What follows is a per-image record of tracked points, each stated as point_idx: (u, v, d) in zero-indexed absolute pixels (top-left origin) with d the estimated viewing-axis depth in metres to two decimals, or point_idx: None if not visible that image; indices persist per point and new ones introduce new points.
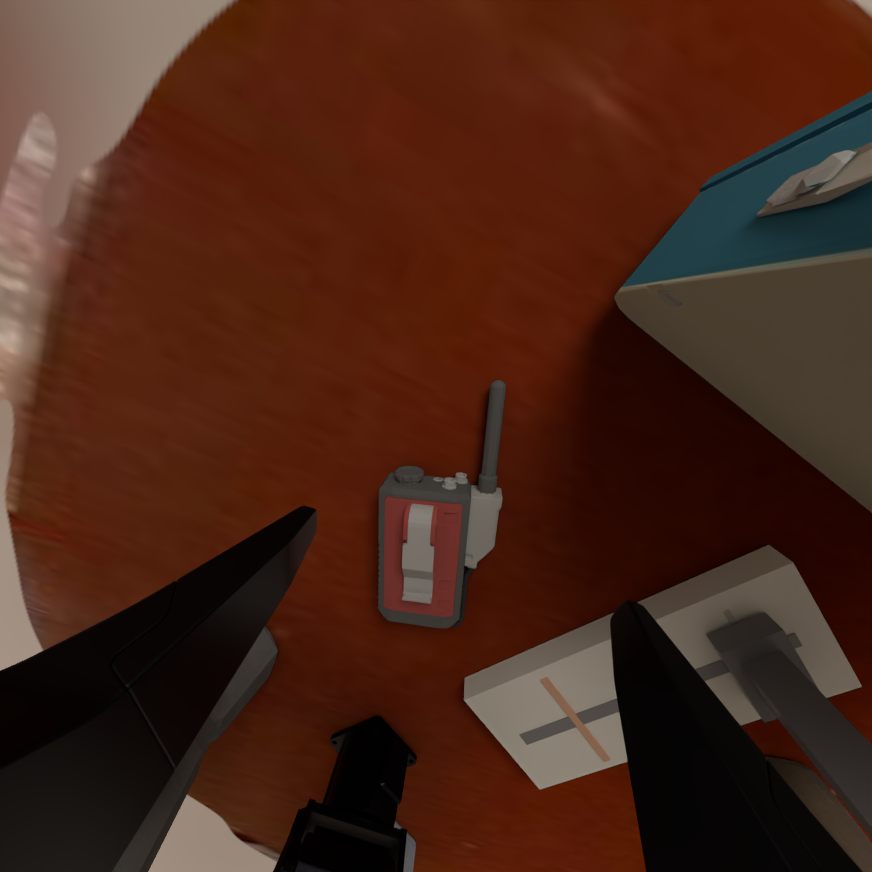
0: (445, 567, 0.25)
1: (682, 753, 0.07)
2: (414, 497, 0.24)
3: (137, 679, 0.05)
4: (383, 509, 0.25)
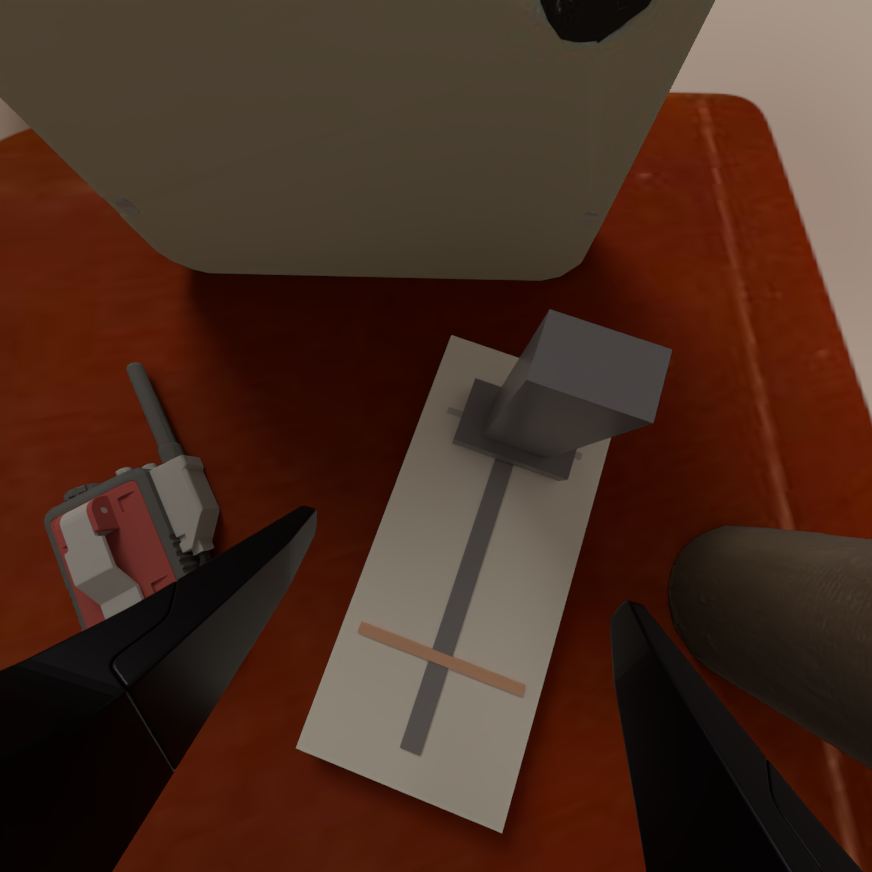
0: (149, 561, 0.20)
1: (682, 753, 0.07)
2: (78, 503, 0.21)
3: (137, 679, 0.05)
4: (54, 541, 0.21)
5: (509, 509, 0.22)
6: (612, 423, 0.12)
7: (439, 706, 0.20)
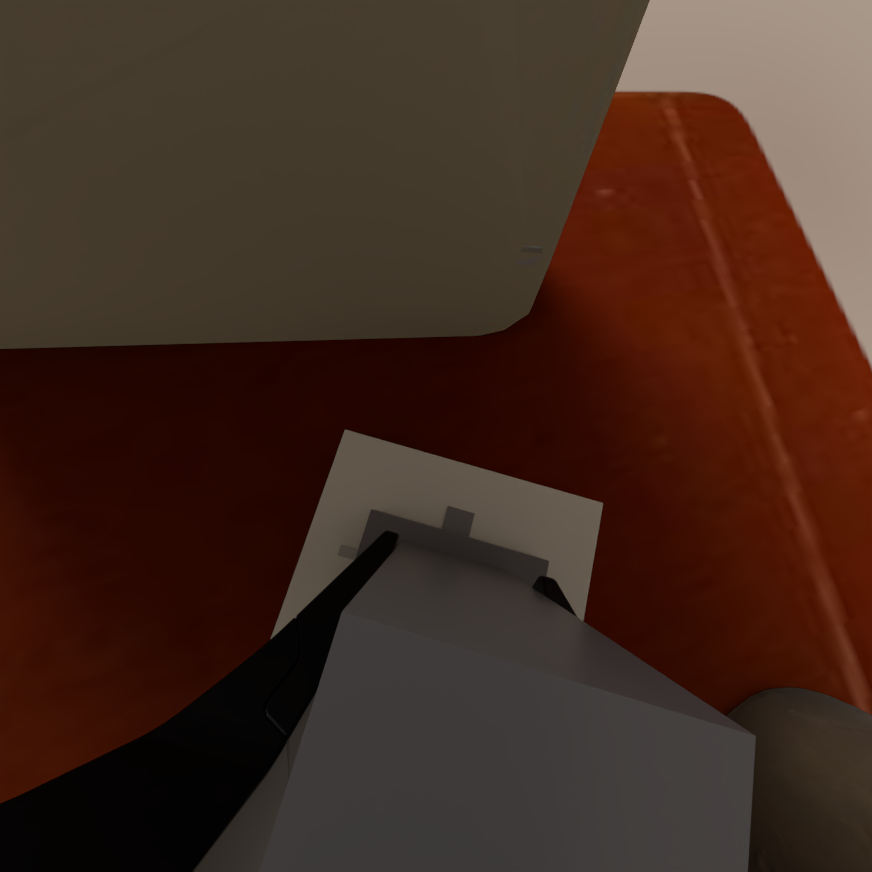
0: None
1: None
2: None
3: (292, 728, 0.05)
4: None
5: None
6: None
7: None
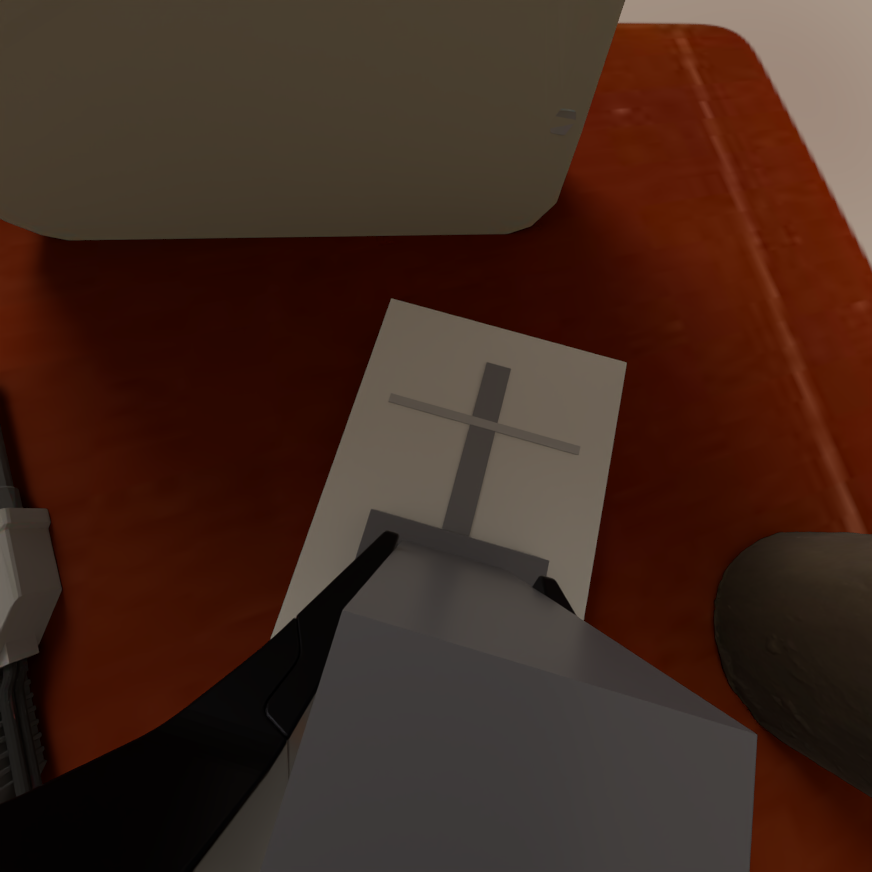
0: None
1: None
2: None
3: (292, 727, 0.05)
4: None
5: (484, 533, 0.15)
6: None
7: None
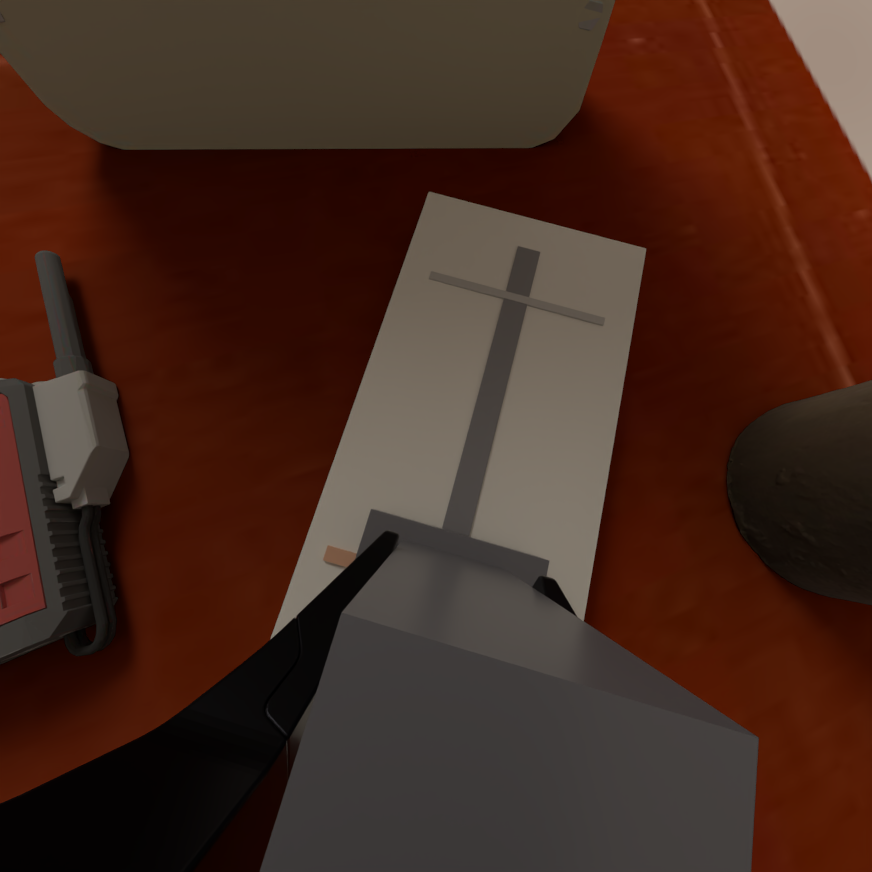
0: None
1: None
2: None
3: (292, 728, 0.05)
4: None
5: (519, 389, 0.16)
6: None
7: None
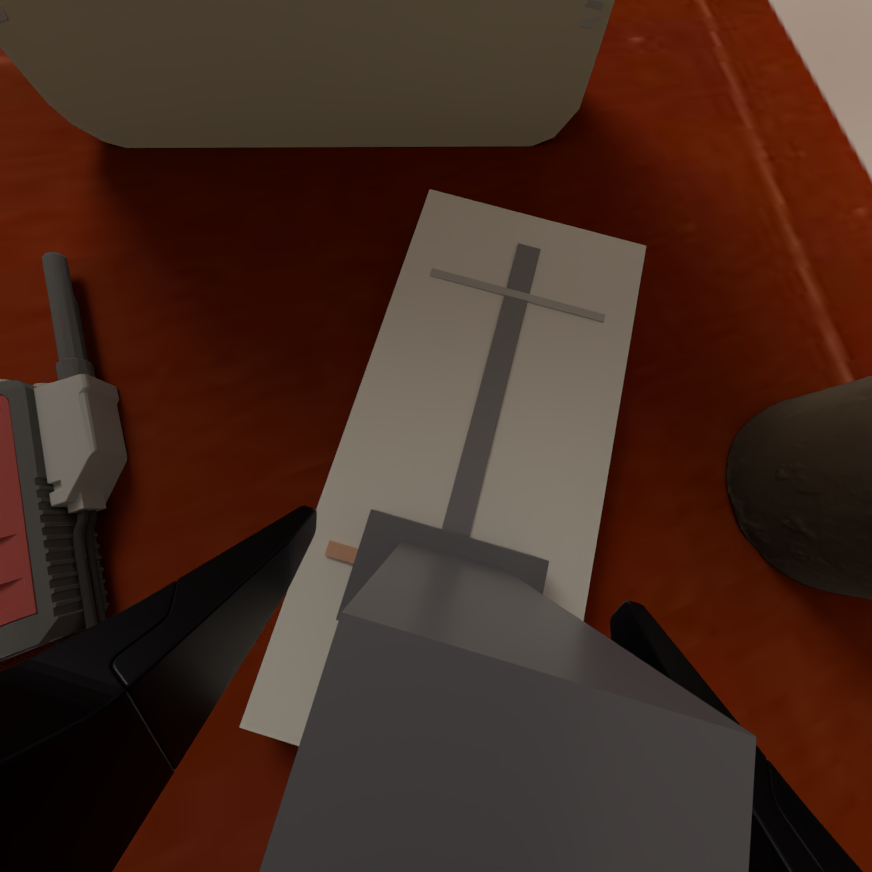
0: None
1: None
2: None
3: (137, 679, 0.05)
4: None
5: (519, 386, 0.17)
6: None
7: None
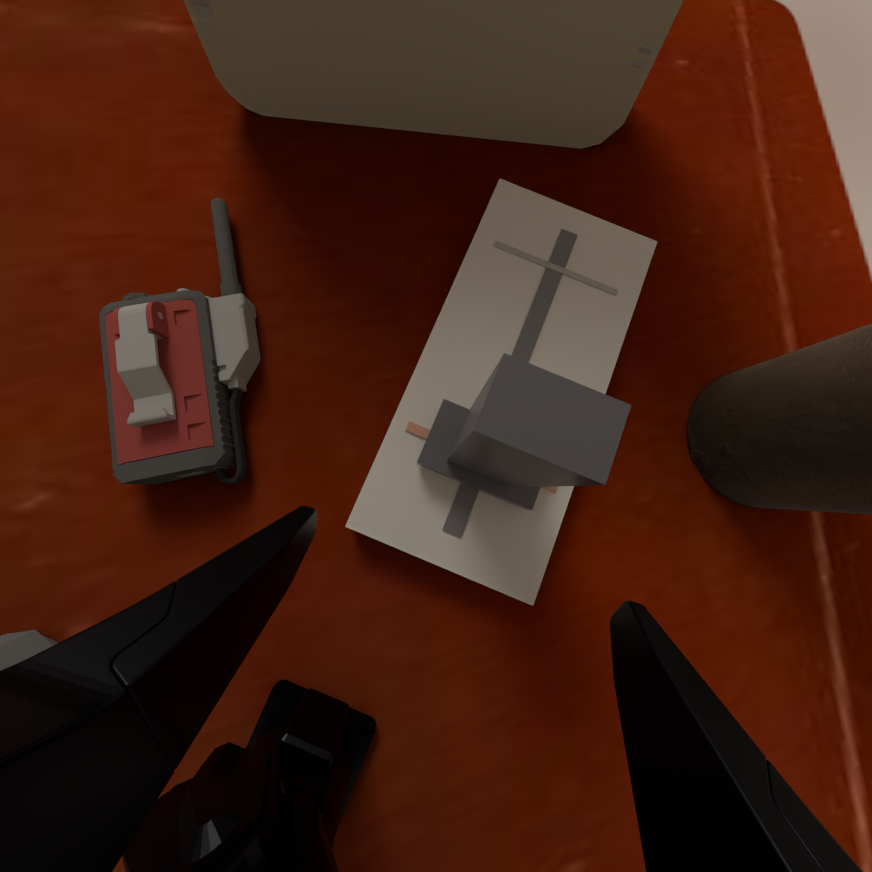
0: (188, 376, 0.21)
1: (682, 753, 0.07)
2: (137, 304, 0.21)
3: (137, 679, 0.05)
4: (105, 333, 0.21)
5: (549, 334, 0.23)
6: (565, 477, 0.11)
7: (479, 497, 0.21)
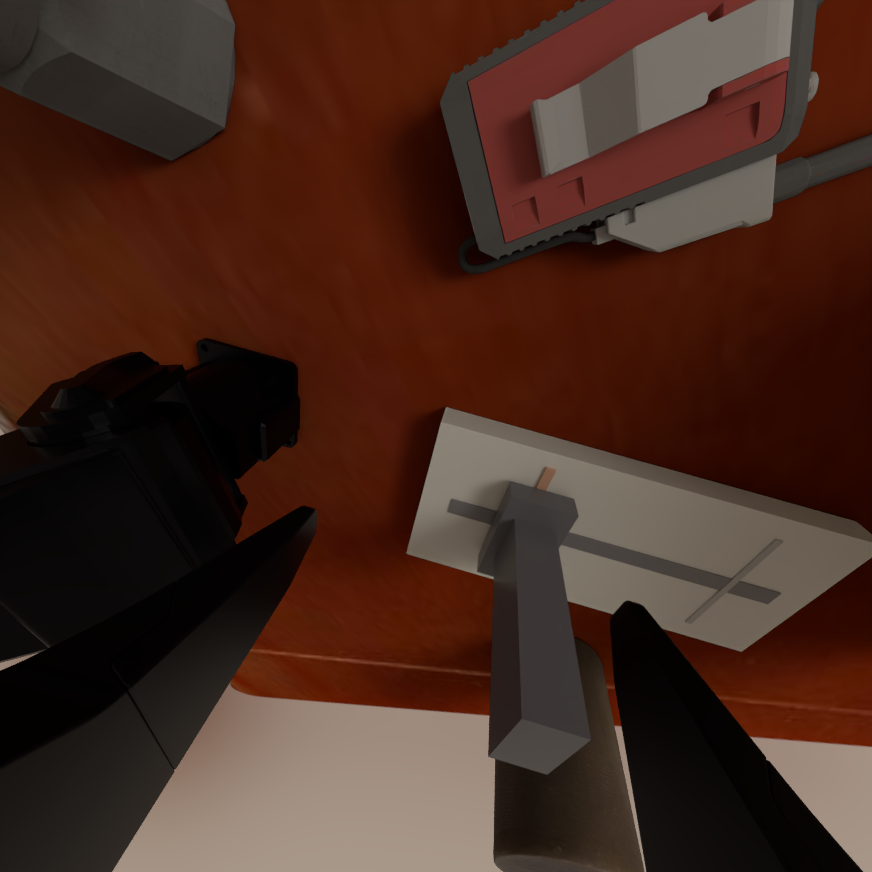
0: (617, 174, 0.13)
1: (682, 753, 0.07)
2: None
3: (137, 679, 0.05)
4: None
5: (648, 576, 0.24)
6: (494, 717, 0.15)
7: (484, 524, 0.24)
